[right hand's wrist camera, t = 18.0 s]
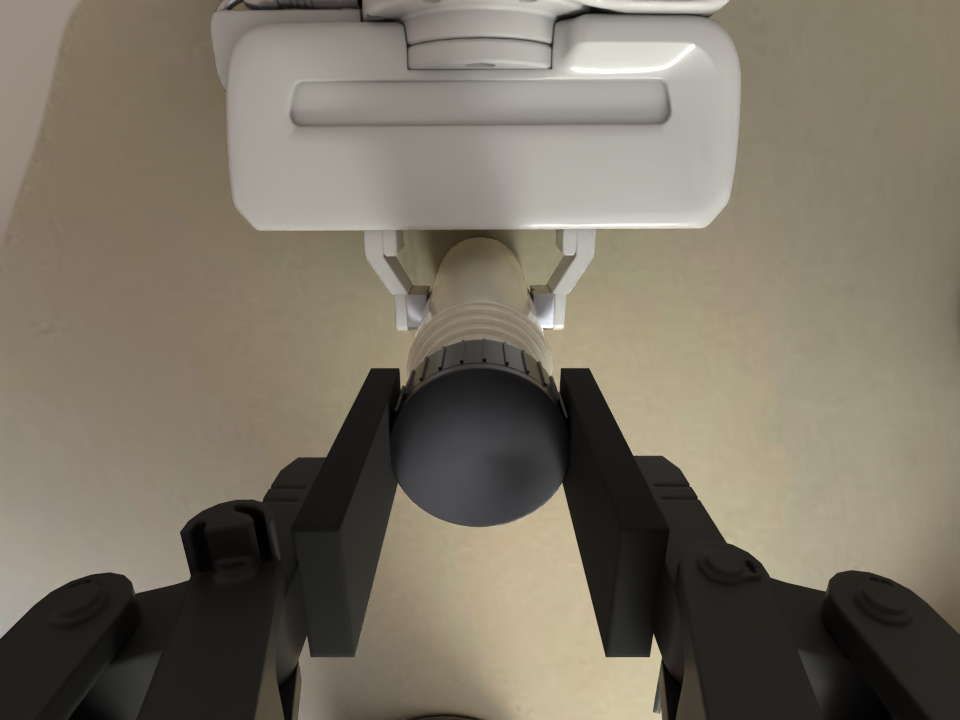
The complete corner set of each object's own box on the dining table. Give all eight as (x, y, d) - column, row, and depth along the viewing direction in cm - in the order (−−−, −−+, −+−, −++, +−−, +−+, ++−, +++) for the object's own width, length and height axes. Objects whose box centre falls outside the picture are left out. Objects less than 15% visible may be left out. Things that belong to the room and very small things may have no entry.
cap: (596, 413, 15) (612, 451, 13) (481, 510, 16) (481, 558, 14) (478, 302, 13) (478, 326, 12) (364, 416, 15) (347, 454, 13)
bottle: (459, 332, 31) (435, 544, 14) (423, 258, 30) (348, 398, 13) (535, 300, 31) (602, 482, 14) (502, 222, 29) (533, 320, 12)
